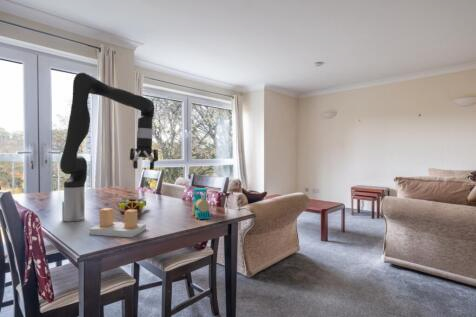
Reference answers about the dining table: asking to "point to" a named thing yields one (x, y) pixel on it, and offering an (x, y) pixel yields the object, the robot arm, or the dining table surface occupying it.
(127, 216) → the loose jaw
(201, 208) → the teal food carton
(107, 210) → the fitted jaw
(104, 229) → the plate
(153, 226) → the dining table surface
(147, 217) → the dining table surface
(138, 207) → the toy
